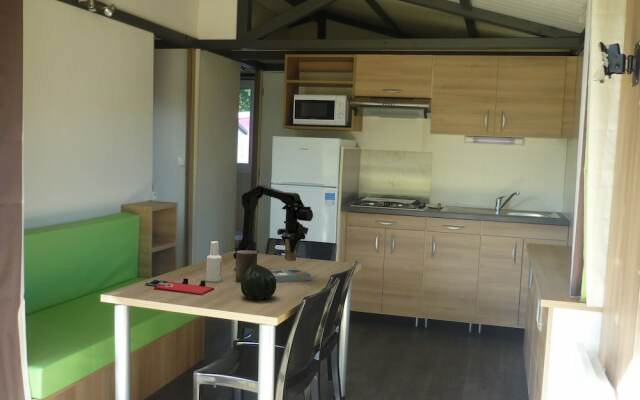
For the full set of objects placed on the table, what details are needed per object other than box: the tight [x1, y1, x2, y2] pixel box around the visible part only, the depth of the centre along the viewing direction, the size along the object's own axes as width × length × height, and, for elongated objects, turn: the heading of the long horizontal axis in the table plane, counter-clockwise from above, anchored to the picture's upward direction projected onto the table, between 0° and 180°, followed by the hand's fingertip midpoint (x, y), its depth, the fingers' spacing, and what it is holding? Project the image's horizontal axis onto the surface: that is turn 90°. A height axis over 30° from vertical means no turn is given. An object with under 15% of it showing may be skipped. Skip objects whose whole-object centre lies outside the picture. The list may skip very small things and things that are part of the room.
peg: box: [284, 239, 297, 262], centre depth 282 cm, size 4×4×10 cm
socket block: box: [269, 268, 311, 284], centre depth 284 cm, size 18×13×3 cm
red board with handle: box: [144, 278, 215, 296], centre depth 256 cm, size 30×3×15 cm
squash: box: [240, 263, 277, 301], centre depth 245 cm, size 14×15×15 cm
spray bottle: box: [205, 240, 223, 283], centre depth 272 cm, size 7×7×18 cm
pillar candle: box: [235, 250, 258, 283], centre depth 274 cm, size 10×10×15 cm
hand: (290, 251), depth 282 cm, fingers closed on peg, 4 cm apart
